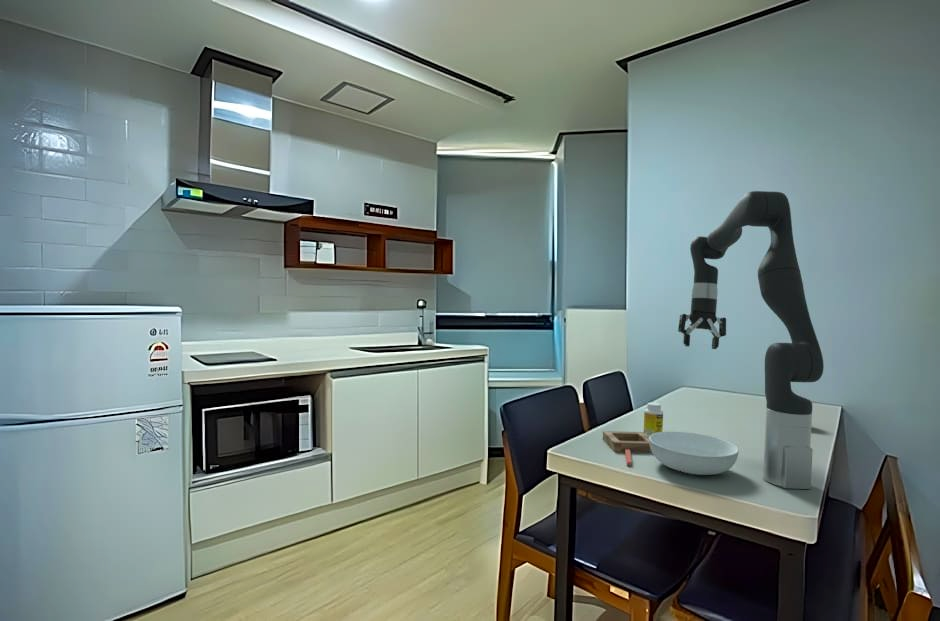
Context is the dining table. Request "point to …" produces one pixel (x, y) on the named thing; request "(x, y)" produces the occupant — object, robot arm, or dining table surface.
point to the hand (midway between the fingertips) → (700, 347)
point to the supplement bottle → (653, 419)
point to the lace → (628, 457)
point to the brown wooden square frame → (627, 441)
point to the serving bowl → (693, 452)
